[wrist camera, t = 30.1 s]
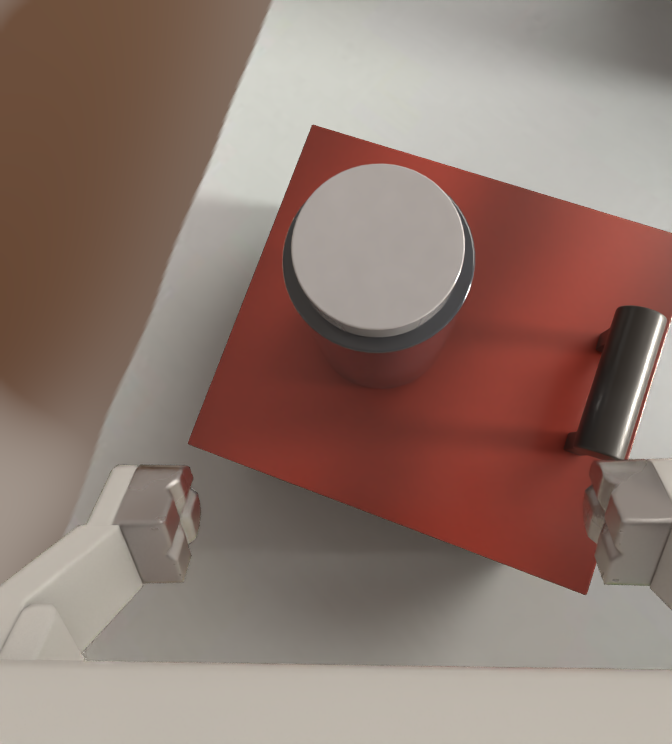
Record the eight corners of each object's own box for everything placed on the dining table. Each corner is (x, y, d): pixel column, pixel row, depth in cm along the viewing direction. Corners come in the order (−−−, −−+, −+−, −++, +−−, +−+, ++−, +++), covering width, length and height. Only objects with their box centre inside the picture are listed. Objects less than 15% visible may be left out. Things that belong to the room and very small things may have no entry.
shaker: (411, 238, 25) (424, 115, 16) (470, 354, 24) (518, 290, 16) (294, 294, 25) (243, 201, 16) (348, 411, 24) (326, 380, 16)
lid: (686, 246, 25) (752, 198, 21) (580, 591, 24) (626, 621, 19) (314, 133, 27) (299, 66, 23) (192, 444, 26) (151, 439, 21)
